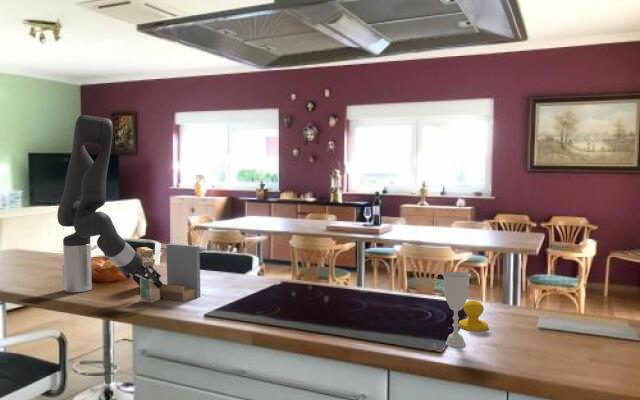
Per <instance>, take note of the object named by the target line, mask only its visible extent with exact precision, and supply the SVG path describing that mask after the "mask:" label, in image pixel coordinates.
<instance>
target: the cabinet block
mask: <svg viewBox="0 0 640 400" xmlns="http://www.w3.org/2000/svg"><path fill="white" fill-rule="evenodd" d="M145 277H147V274H146V275H145ZM150 278H151V277H150ZM151 279H152V278H151ZM139 291H140V292H139V293H140V295H139V296H140V297H139V298H140V300H139V301H140V302H143V301H144V303H149V302H151V304H152V303H156V302H158V300H159V301H160V300H161V298H160V288H157V287H156V286H155V285H154V284H153V283H152V282H151V281H149V280H144V279H143V278H141V277H140V288H139ZM155 301H156V302H155Z"/></svg>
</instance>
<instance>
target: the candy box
mask: <svg viewBox="0 0 640 400" xmlns="http://www.w3.org/2000/svg"><path fill="white" fill-rule="evenodd" d="M136 252H137V253H138V255H139V256H140V257H141V259H142V265H144V266H145V267H146V268H148V267H149V266H152V267H153V268H154V249H152V248H149V247H147V246H142V247H136ZM137 288H138V289H140V286H139V285H138V284H137Z"/></svg>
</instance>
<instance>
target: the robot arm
mask: <svg viewBox="0 0 640 400" xmlns="http://www.w3.org/2000/svg"><path fill="white" fill-rule="evenodd" d="M113 127H114V126H113V121H112V120H111V119H110V118H105V117H100V116H93V115H87V114H86V115H85V114H82V115H79V116H78V117H77V119H76V121H75V125H74V132H73V139H72V140H73V141H72V148H71V154H70V159H69V163H68V166H67V170H66V175H65V182H64V189H63V192H62V195H61V199H60V201H59V204H58V208H57V213H56V216H57V222H58V223H59V225H60V226H62V227H66V228H67V227H69V228H70V227H71V228H72V227H73V228H74V232H73V233H71V234H69V235H66V236H64V237H63V239H62V241H63V242H62V246H63V247H62V248H63V250H62V251H63V265H62V287H63V289H62V290H63V291H65V292H66V293H83V292H87V291H91V290H92V289H93V285H92V284H93V283H92V252H91V249H92V247H91V246H92V245H91V238H92V237H97V236H98V238H97V240H96V246H97V247H98V249H99V250H100V251H101V252H102V253H103V254H104V255H105V256H106V257H107V258H108V259H109V261H110V262H111V263H112V264H113V265H114V266H115V267H116V268H117V269H118V270H119V272H120V273H121V274H122V275H123V276H124V277H125V278H126V279H130V280H132V281H134V282H135V283H136V284H137V286H138V285H139V286H140V277H141V278H143V279H144V280H149V281H151V282H152V283H153V284H154V285H155V286H156V287H157V288H160V287H161V286H162V284H163V282H162V281H161V280H160V278H161V277H162V276H161V274H160V273H159V272H158V271H157V270H156V269H155V268H154V266H153V267H152V266H149V267H148V268H146V267H145V266H144V265H142V259H141V257H140V256H139V255H138V253H137V250H135V249H134V248H133V247H132V246H131V245H130V244H129V243H128V242H127V241H125V240H124V239H123V237H122V236H120V234H119V233H118V231H117V229H116V227H115V224H114V222H113V221H112V219H111V217H110V215H108V214H107V213H106V212H104V211H97V210H98V209H99V208H101V207H103V206H104V205H105V203H106V200H107V199H106V198H107V177H108V169H109V164H110V157H111V150H112V144H113V134H114V128H113ZM85 145H89V146H96V147H98V146H99V147H100V149H99V153H98V155H97V157H96V158H95V160H93V158H92V157H91V156H90V154H89V153H88V151H87V149H86V146H85ZM79 199H80V200H79ZM146 274H147V277H145V275H146ZM150 277H151V278H152V279H151V278H150Z"/></svg>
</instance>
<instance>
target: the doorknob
mask: <svg viewBox="0 0 640 400" xmlns="http://www.w3.org/2000/svg"><path fill="white" fill-rule="evenodd" d="M484 308H485V307H484V304H483V303H481V302H480V301H477V300H473V299H472V300H468V301H466V302H465V304H464V306H463V308H462V310H463V312H464V313H465V314H466V315H467V318H465V319H461V320H458V324H459V327H458V328H461V329H462V330H466V331H472V332H481V331H486V330H488V329H489V323H488V322H487V321H484V320H482V319H479V318H480V317H481V315H482V314H483V313H484V310H485V309H484Z"/></svg>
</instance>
